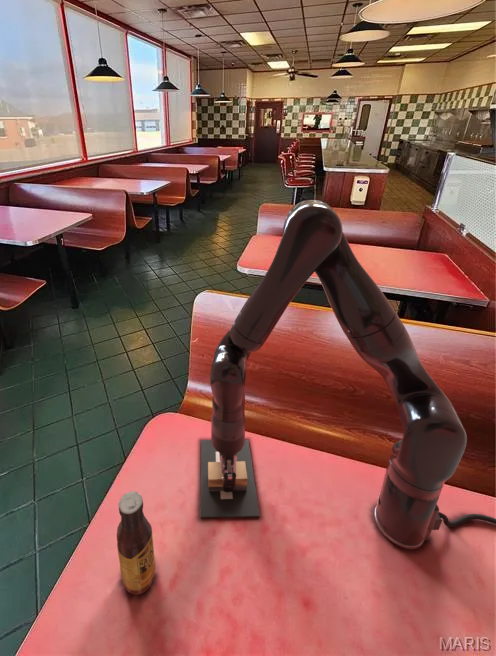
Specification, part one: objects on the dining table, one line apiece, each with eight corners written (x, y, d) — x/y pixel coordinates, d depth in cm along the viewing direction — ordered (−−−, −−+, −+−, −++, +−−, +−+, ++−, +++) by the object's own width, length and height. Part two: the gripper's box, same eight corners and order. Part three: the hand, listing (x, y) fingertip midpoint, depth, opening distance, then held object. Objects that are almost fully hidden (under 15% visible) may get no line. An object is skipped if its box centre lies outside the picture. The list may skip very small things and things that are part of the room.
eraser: (244, 472, 81) (245, 461, 80) (246, 490, 77) (247, 478, 76) (208, 473, 81) (208, 462, 80) (208, 491, 77) (208, 479, 76)
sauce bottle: (149, 600, 59) (139, 529, 52) (116, 592, 60) (103, 521, 53) (160, 558, 65) (154, 489, 58) (131, 551, 66) (121, 483, 59)
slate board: (248, 440, 91) (248, 439, 91) (259, 517, 72) (259, 516, 72) (201, 441, 91) (201, 440, 91) (200, 518, 72) (200, 516, 72)
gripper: (249, 454, 66) (246, 510, 73) (241, 402, 80) (239, 453, 86) (212, 454, 66) (212, 511, 72) (210, 402, 80) (210, 454, 86)
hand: (227, 479), depth 79 cm, fingers closed on eraser, 4 cm apart
